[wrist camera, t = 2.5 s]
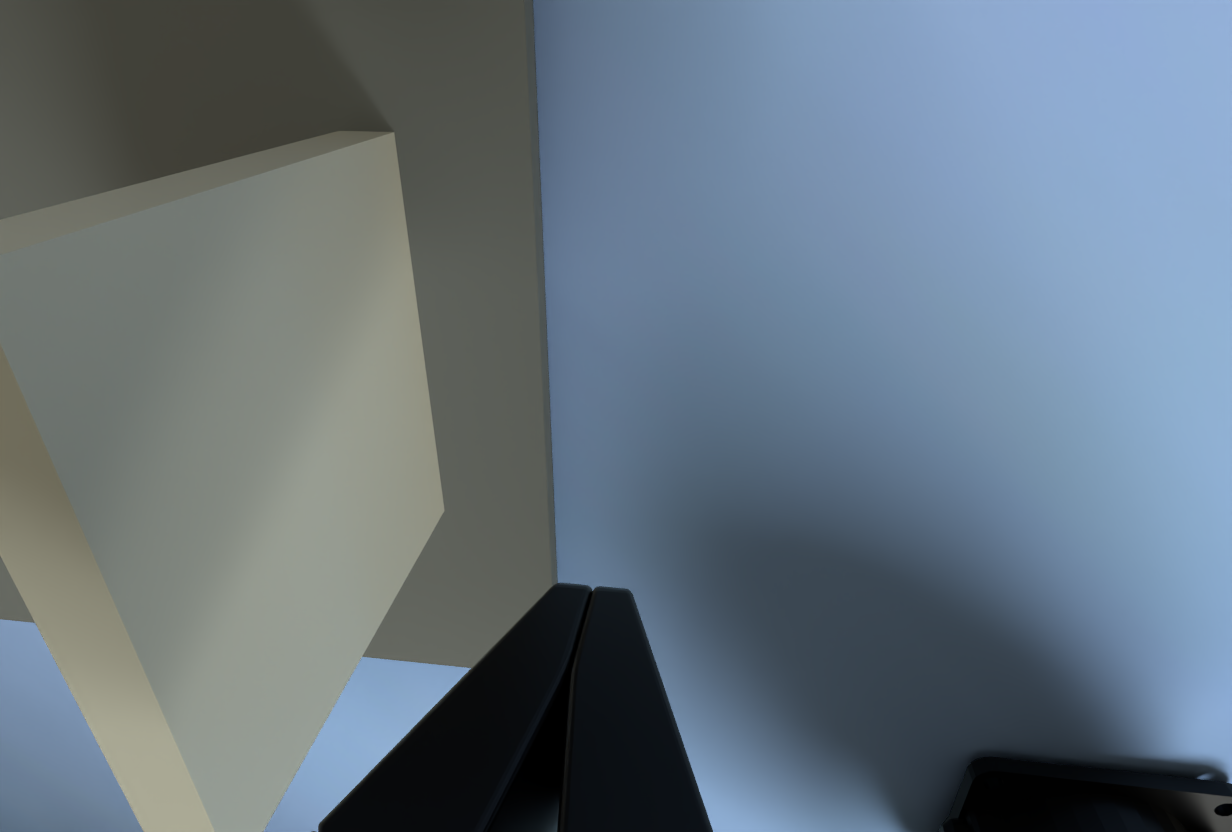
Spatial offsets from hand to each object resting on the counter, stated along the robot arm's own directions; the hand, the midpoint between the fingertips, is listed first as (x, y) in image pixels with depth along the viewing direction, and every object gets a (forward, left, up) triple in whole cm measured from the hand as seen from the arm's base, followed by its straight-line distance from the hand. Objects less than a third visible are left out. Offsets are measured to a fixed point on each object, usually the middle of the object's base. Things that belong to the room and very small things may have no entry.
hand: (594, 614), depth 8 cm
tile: (+5, 0, -7) cm, 8 cm away
